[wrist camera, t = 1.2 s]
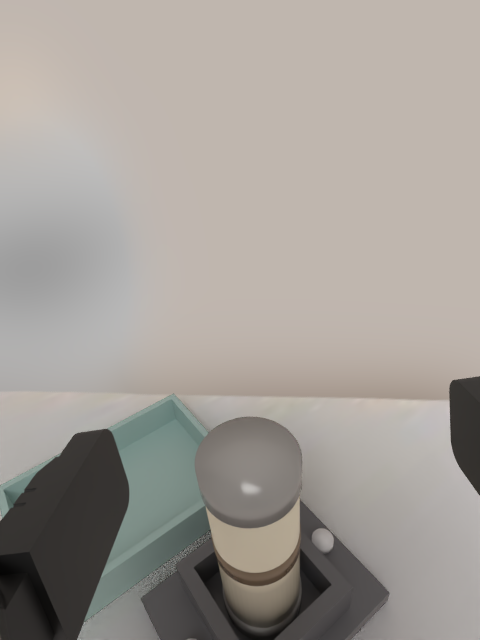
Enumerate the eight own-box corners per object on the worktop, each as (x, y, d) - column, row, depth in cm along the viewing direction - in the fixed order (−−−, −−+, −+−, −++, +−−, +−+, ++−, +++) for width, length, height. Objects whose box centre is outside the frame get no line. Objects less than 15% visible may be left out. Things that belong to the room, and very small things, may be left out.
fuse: (256, 661, 23) (235, 530, 15) (210, 588, 26) (175, 451, 19) (317, 603, 25) (325, 463, 17) (268, 541, 28) (257, 402, 21)
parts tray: (49, 647, 25) (30, 626, 23) (10, 511, 32) (-6, 488, 31) (250, 500, 32) (247, 476, 30) (179, 416, 39) (173, 393, 38)
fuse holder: (225, 773, 20) (216, 755, 18) (144, 605, 26) (131, 579, 24) (387, 600, 25) (394, 572, 23) (288, 495, 32) (287, 466, 30)
